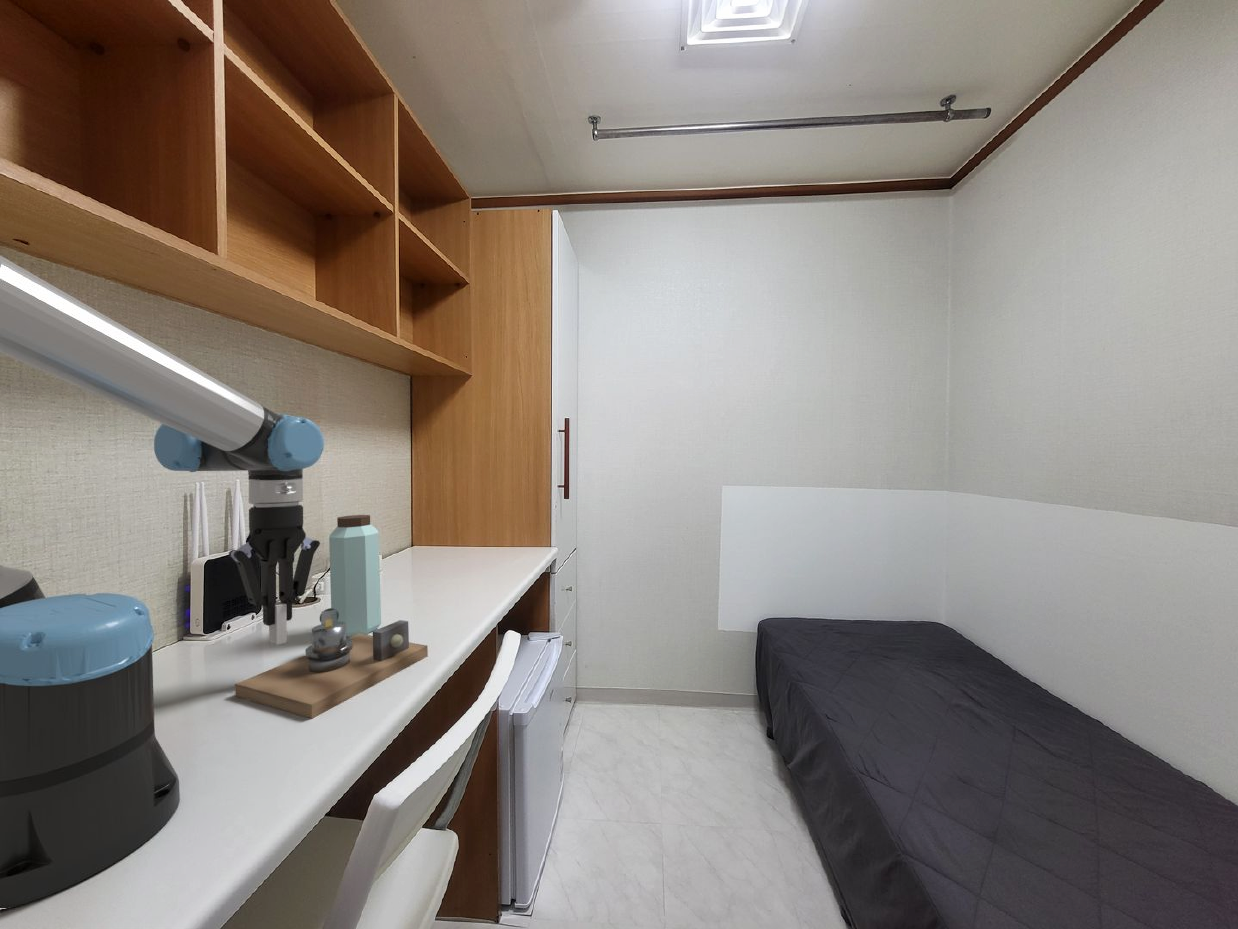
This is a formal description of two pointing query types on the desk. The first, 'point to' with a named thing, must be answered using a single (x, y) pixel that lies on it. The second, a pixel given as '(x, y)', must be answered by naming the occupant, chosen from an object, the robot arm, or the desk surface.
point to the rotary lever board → (334, 673)
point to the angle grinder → (329, 638)
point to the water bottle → (355, 574)
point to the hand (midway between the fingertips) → (278, 641)
